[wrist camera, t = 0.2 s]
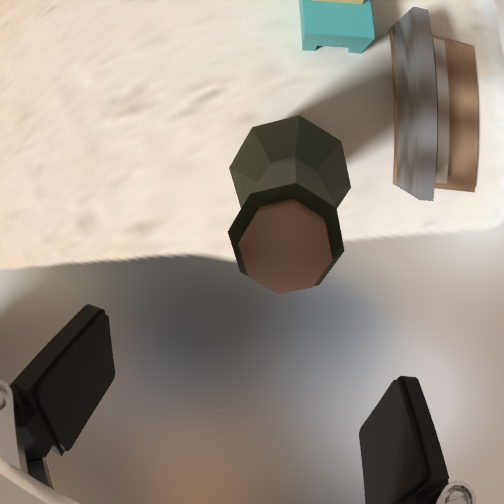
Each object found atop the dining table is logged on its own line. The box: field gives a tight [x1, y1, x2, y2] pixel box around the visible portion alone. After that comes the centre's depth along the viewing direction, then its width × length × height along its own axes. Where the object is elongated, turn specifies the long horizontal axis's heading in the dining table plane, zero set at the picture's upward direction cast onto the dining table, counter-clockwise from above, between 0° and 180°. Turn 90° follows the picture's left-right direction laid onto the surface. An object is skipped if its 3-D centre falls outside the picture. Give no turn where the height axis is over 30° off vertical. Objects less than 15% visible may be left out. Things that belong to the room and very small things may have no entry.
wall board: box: [389, 7, 478, 201], centre depth 26 cm, size 20×12×9 cm, turn 2°
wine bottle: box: [228, 116, 351, 294], centre depth 22 cm, size 8×8×30 cm
